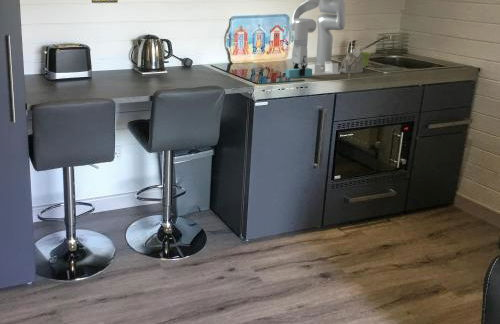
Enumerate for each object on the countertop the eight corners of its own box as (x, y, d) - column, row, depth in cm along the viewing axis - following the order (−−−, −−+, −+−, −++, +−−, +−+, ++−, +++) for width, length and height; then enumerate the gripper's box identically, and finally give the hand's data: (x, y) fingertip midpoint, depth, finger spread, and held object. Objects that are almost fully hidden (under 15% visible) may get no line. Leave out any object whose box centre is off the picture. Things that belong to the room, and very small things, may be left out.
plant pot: (351, 65, 368) (352, 52, 365) (364, 65, 371) (365, 51, 368) (359, 68, 360) (360, 54, 357) (372, 67, 363) (373, 53, 360)
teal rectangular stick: (285, 77, 325) (285, 69, 324) (308, 75, 331) (308, 67, 330) (289, 78, 322) (289, 70, 320) (312, 76, 328) (312, 69, 326)
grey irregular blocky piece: (353, 67, 360) (354, 43, 354) (367, 73, 346) (369, 48, 340) (331, 70, 355) (332, 45, 349) (344, 76, 341) (345, 50, 335)
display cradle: (304, 72, 339) (305, 62, 337) (330, 71, 347) (331, 61, 345) (313, 75, 331) (314, 65, 329) (340, 73, 338) (340, 63, 336)
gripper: (287, 41, 326) (285, 72, 332) (302, 44, 311) (301, 77, 317) (298, 40, 329) (297, 72, 335) (314, 44, 314) (312, 77, 320)
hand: (298, 74), depth 326 cm, fingers open, 6 cm apart
